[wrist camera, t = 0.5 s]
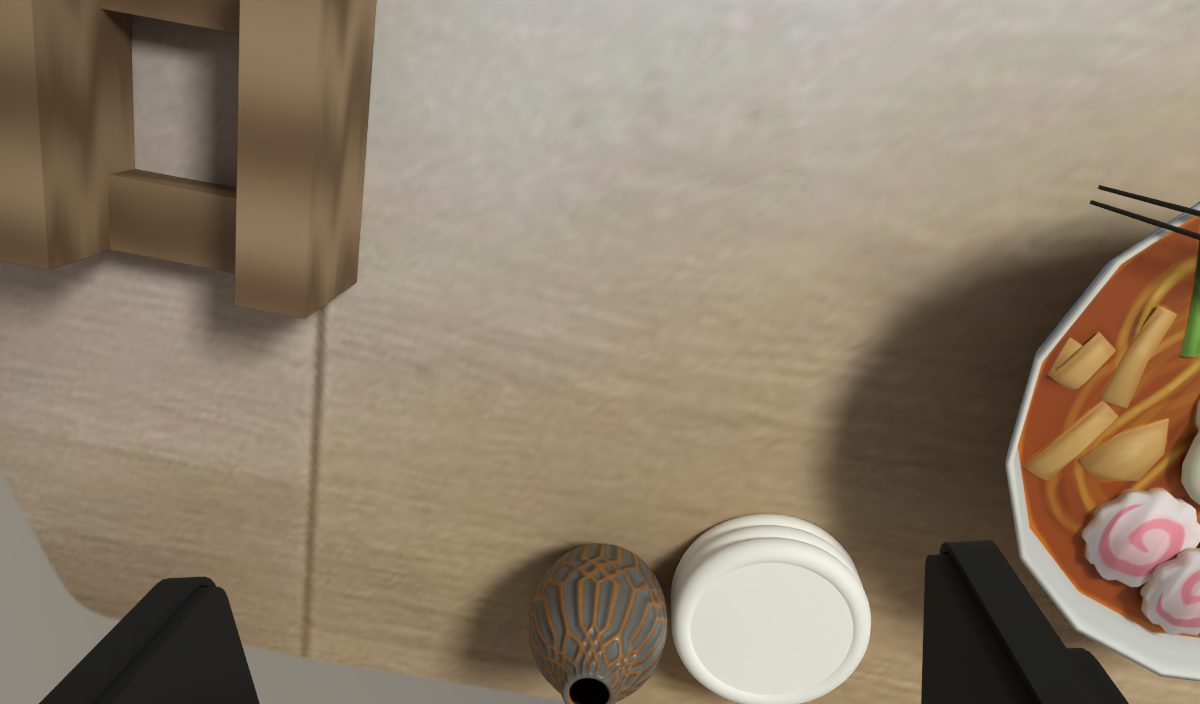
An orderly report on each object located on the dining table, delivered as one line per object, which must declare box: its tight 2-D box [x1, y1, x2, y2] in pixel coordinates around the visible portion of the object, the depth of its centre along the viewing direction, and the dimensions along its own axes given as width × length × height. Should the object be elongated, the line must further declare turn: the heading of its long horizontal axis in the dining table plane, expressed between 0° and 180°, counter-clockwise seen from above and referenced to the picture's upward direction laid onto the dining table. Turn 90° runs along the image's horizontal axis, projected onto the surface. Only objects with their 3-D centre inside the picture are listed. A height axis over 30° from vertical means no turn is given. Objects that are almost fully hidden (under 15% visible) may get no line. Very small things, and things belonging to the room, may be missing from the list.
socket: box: [0, 0, 376, 319], centre depth 35 cm, size 14×14×6 cm
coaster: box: [671, 514, 871, 704], centre depth 42 cm, size 10×10×4 cm
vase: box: [529, 544, 667, 704], centre depth 40 cm, size 7×7×9 cm
